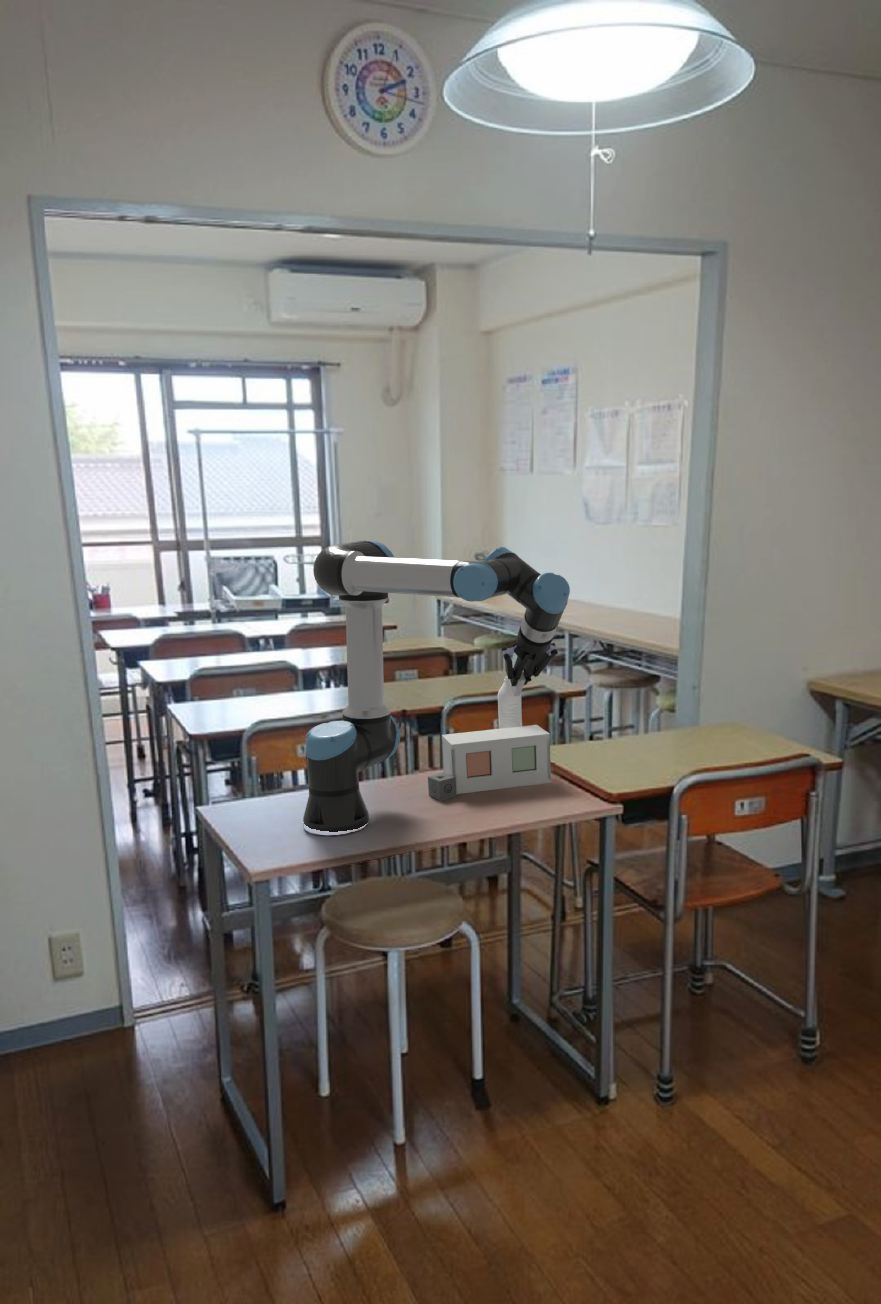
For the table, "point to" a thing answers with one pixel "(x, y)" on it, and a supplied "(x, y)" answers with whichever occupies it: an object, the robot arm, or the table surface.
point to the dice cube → (442, 786)
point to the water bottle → (509, 706)
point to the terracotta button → (478, 763)
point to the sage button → (523, 758)
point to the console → (497, 757)
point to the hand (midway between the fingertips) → (515, 691)
